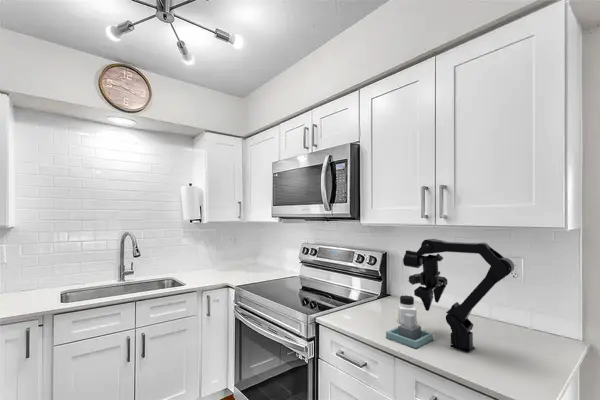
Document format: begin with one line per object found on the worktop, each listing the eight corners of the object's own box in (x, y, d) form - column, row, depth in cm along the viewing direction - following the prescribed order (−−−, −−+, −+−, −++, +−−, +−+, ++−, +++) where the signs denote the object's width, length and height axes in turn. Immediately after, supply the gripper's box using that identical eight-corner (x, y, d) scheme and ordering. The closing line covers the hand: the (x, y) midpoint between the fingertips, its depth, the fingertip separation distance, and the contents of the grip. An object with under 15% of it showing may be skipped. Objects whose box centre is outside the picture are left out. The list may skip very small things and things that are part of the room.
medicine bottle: (416, 325, 137) (416, 298, 137) (400, 324, 138) (399, 297, 139) (413, 320, 144) (413, 294, 144) (398, 318, 145) (398, 293, 146)
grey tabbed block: (421, 337, 121) (420, 315, 122) (412, 342, 117) (411, 318, 117) (407, 333, 126) (407, 311, 126) (398, 337, 121) (397, 314, 122)
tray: (433, 340, 121) (433, 333, 121) (416, 349, 112) (416, 342, 112) (403, 330, 131) (403, 324, 131) (386, 338, 122) (386, 331, 122)
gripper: (421, 260, 135) (422, 293, 137) (400, 272, 123) (402, 309, 124) (447, 264, 127) (448, 300, 129) (428, 278, 114) (430, 317, 116)
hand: (432, 306), depth 125 cm, fingers open, 9 cm apart
